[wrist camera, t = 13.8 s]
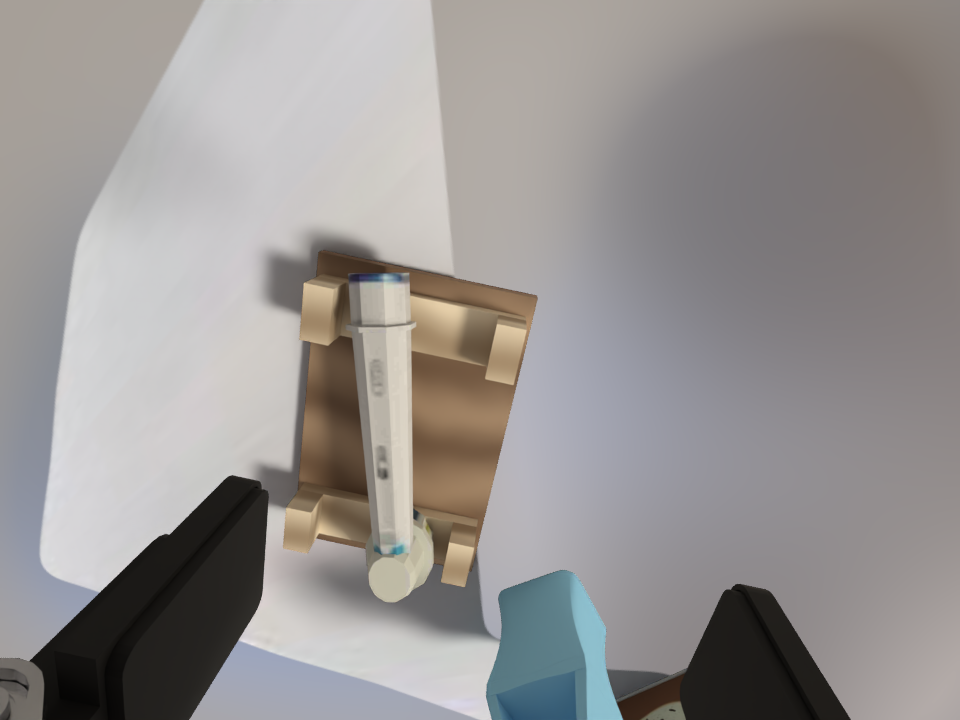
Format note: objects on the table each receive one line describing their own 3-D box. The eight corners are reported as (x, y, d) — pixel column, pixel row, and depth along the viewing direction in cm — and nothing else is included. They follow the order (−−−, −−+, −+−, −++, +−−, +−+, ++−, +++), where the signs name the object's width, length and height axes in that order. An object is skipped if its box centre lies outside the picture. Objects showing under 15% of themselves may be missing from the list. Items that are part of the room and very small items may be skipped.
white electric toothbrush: (411, 273, 31) (423, 630, 36) (430, 271, 37) (438, 572, 42) (328, 274, 31) (351, 626, 36) (361, 272, 38) (377, 570, 42)
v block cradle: (323, 250, 37) (298, 258, 32) (537, 295, 37) (539, 309, 32) (298, 526, 45) (275, 561, 41) (472, 563, 45) (467, 602, 41)
